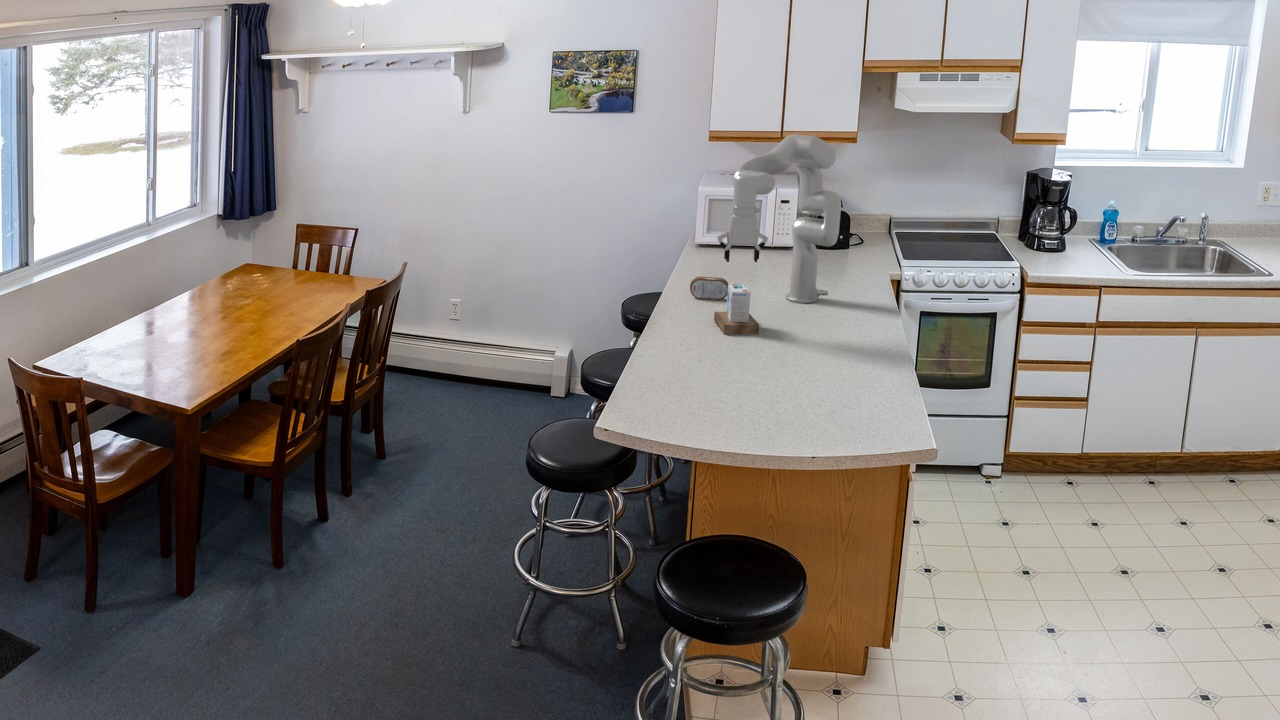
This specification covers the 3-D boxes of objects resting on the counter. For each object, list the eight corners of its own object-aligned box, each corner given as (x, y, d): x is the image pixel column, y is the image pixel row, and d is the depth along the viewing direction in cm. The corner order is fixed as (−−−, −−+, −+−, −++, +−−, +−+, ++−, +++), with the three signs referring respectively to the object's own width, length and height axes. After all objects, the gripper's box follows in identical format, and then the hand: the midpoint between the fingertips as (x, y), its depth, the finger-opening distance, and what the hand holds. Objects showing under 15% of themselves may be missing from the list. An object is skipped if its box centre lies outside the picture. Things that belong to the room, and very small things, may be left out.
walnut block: (746, 322, 368) (747, 311, 367) (758, 335, 353) (759, 324, 352) (713, 322, 366) (714, 311, 365) (724, 336, 352) (724, 325, 350)
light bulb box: (725, 313, 364) (727, 283, 360) (744, 313, 364) (746, 283, 361) (729, 322, 354) (731, 291, 350) (749, 322, 354) (751, 292, 350)
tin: (728, 298, 395) (730, 277, 392) (728, 301, 392) (729, 279, 390) (689, 296, 397) (690, 275, 394) (689, 299, 394) (690, 277, 391)
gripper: (767, 209, 352) (764, 258, 357) (717, 209, 350) (714, 258, 356) (771, 213, 345) (768, 264, 350) (720, 213, 343) (717, 263, 349)
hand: (741, 261), depth 353 cm, fingers open, 9 cm apart
